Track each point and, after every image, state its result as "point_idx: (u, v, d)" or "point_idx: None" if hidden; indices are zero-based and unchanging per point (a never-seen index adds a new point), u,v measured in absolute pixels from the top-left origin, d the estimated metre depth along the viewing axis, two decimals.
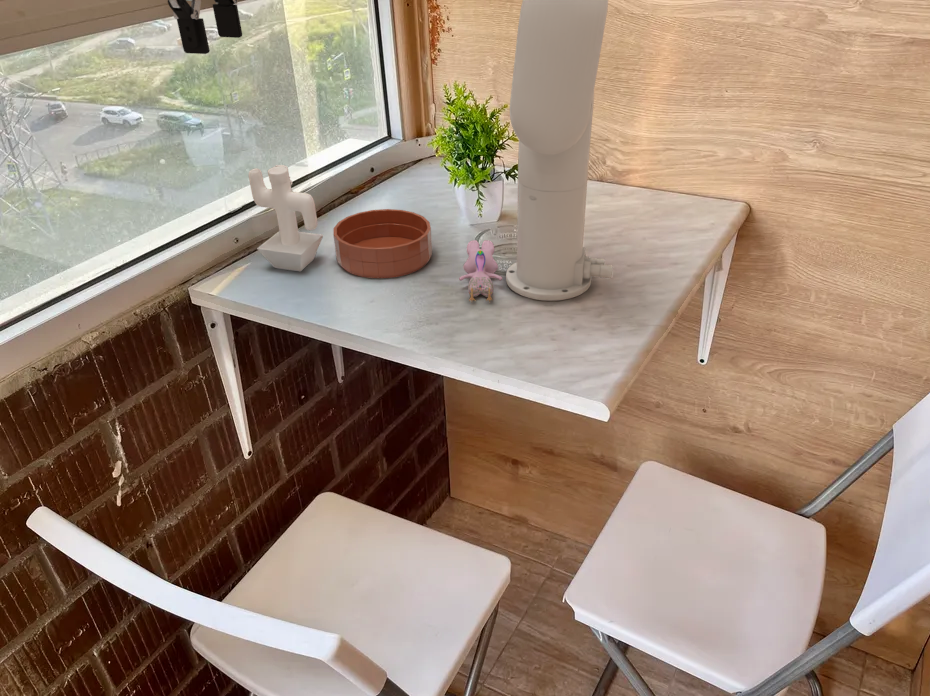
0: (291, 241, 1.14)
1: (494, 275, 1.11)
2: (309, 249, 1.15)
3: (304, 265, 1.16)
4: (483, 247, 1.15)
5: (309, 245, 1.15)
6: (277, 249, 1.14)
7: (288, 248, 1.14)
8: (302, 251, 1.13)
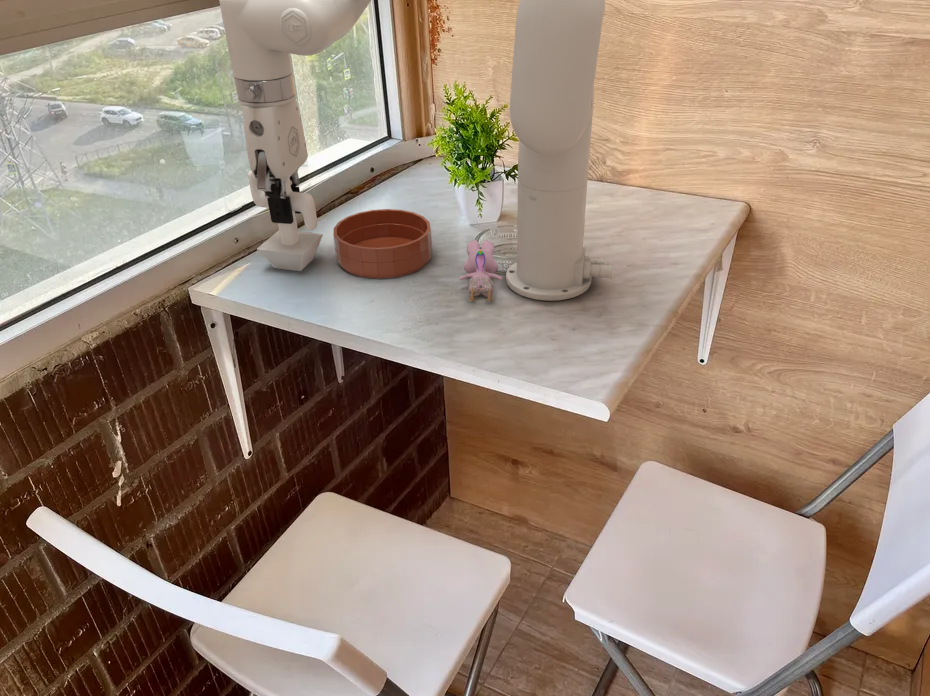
0: (291, 241, 1.14)
1: (494, 275, 1.11)
2: (309, 249, 1.15)
3: (304, 265, 1.16)
4: (483, 247, 1.15)
5: (309, 245, 1.15)
6: (277, 249, 1.14)
7: (288, 248, 1.14)
8: (303, 251, 1.13)
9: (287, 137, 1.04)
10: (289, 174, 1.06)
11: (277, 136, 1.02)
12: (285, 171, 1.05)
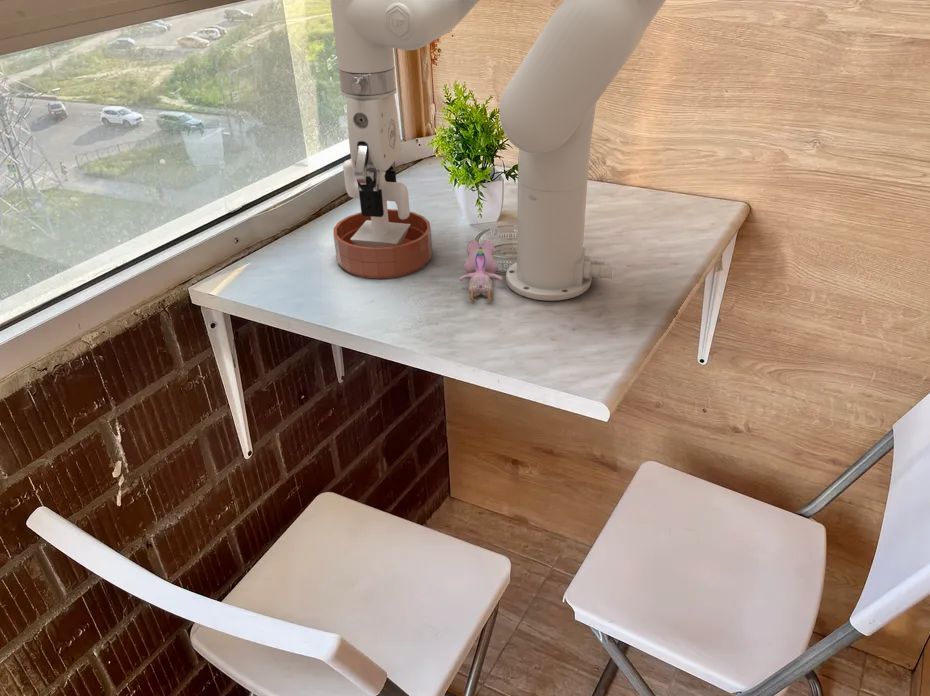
0: (383, 231, 1.16)
1: (494, 275, 1.11)
2: (401, 238, 1.17)
3: None
4: (483, 247, 1.15)
5: (401, 234, 1.17)
6: (371, 239, 1.15)
7: (381, 238, 1.15)
8: (397, 240, 1.15)
9: (387, 129, 1.06)
10: (388, 166, 1.08)
11: (381, 128, 1.04)
12: (385, 163, 1.06)
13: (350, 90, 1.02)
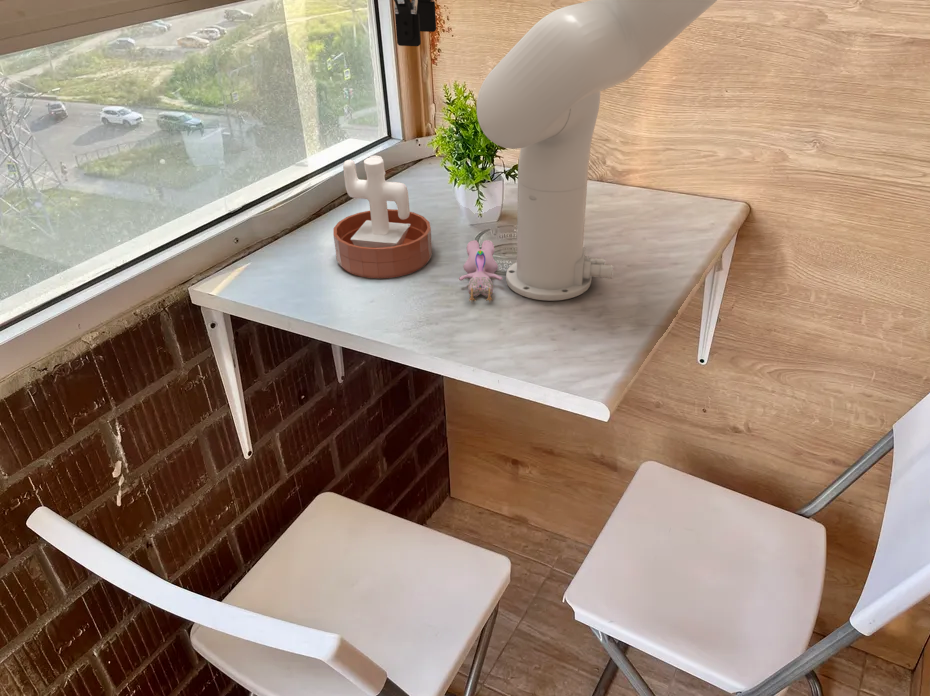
0: (383, 231, 1.16)
1: (494, 275, 1.11)
2: (401, 238, 1.17)
3: None
4: (483, 247, 1.15)
5: (401, 234, 1.17)
6: (371, 239, 1.15)
7: (381, 238, 1.15)
8: (397, 240, 1.15)
9: None
10: None
11: None
12: None
13: None
